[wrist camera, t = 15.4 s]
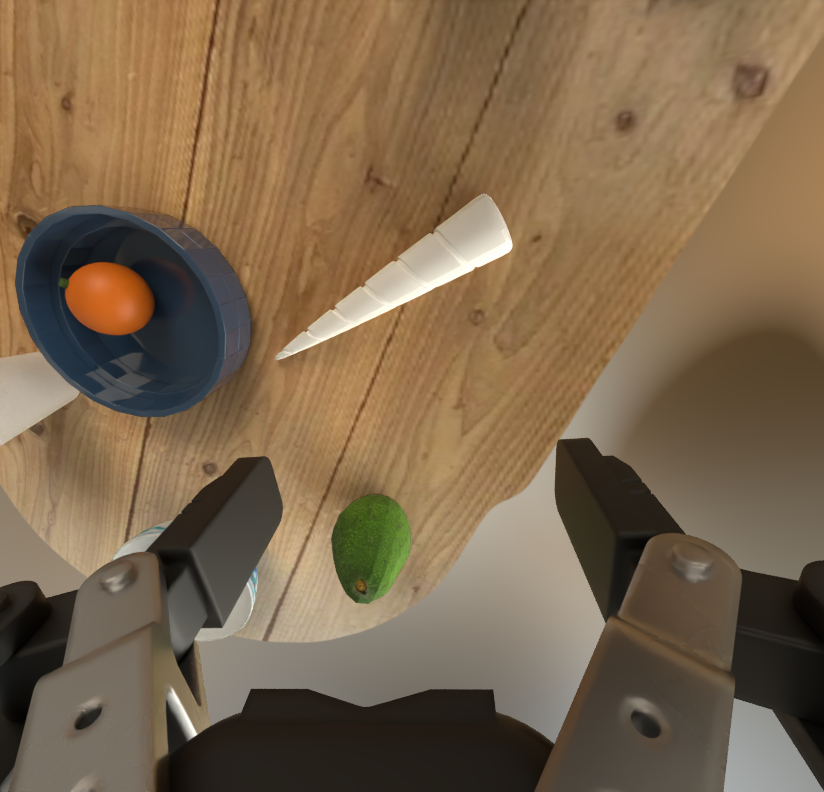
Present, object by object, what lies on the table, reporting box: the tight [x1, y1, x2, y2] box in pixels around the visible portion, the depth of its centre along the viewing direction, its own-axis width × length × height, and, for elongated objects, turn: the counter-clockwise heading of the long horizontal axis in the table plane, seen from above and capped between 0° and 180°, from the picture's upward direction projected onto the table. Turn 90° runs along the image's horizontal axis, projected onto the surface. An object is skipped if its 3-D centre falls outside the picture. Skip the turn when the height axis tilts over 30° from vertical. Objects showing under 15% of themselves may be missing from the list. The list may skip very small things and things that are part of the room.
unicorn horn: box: [275, 194, 512, 360], centre depth 33 cm, size 5×24×5 cm, turn 117°
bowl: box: [15, 205, 251, 417], centre depth 34 cm, size 17×17×6 cm
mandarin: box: [58, 262, 155, 335], centre depth 33 cm, size 6×6×6 cm
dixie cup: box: [0, 352, 80, 446], centre depth 36 cm, size 8×8×10 cm
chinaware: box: [111, 519, 258, 641], centre depth 44 cm, size 15×15×8 cm
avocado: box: [331, 494, 411, 604], centre depth 39 cm, size 8×8×12 cm
